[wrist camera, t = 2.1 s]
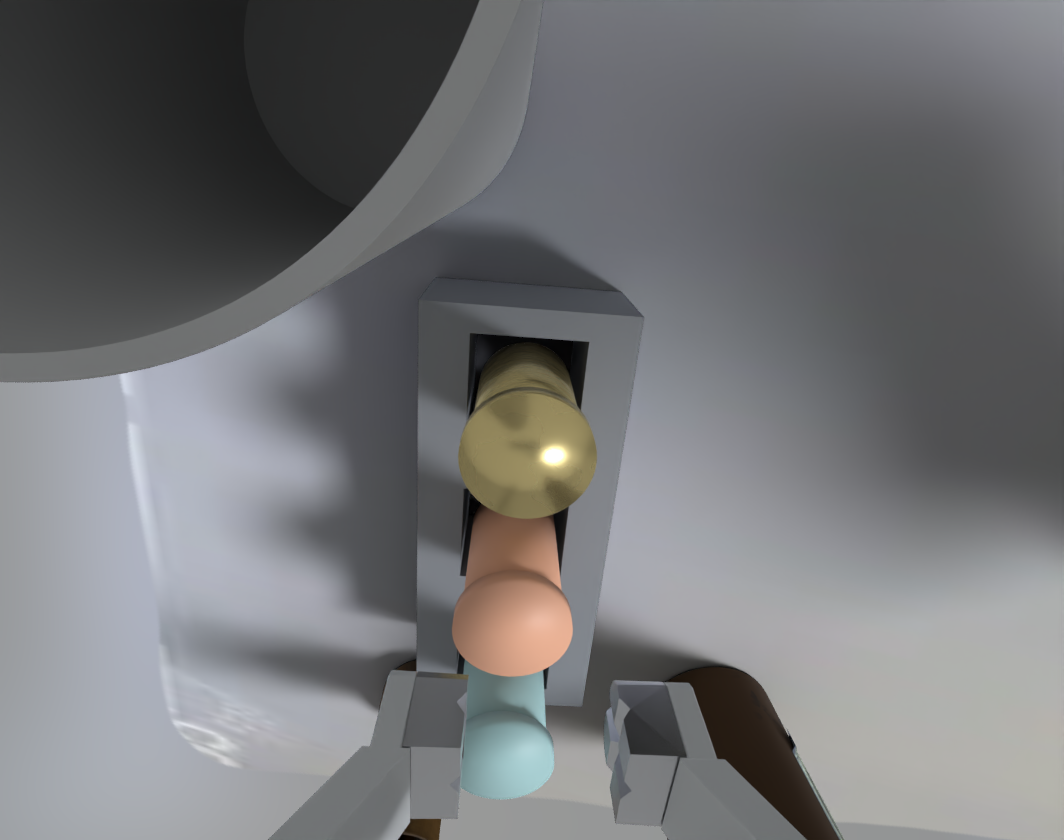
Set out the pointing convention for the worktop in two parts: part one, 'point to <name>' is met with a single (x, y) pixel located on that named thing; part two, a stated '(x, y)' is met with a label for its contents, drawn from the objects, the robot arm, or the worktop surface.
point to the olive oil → (759, 747)
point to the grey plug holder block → (443, 409)
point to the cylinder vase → (230, 159)
